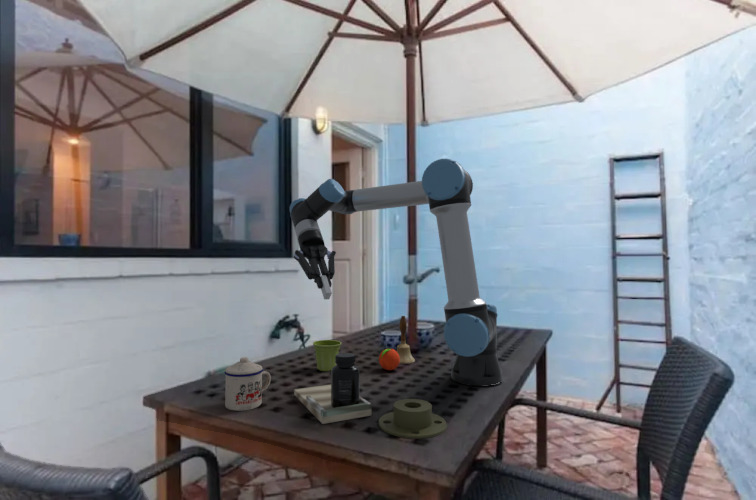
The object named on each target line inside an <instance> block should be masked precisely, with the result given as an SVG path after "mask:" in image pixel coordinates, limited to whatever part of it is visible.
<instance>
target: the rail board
mask: <svg viewBox="0 0 756 500" xmlns="http://www.w3.org/2000/svg"><path fill="white" fill-rule="evenodd" d="M293 394H294V396H295V397H296V398H297V400H298V401H300V403H302V404H303V406H304V407H306V409H307V410H309V412H310V413H311V414H312V415H313V416H314V417H315V418H316V419H317V420H318V421H319V422H320V423H321V424H323V425H324V424H330V423H335V422H341V421H347V420H355V419H359V418H364V417H369V416H370V417H371V416H372V403H371V402H369V401H368V400H367V399H365V398H363V397H362V396H360V399H359V404H355V405H349V406H343V407H336V408H333V407H332V405H331V384H324V385H317V386H316V385H315V386H309V387H303V388H302V387H301V388H296V389H295V388H294V393H293Z"/></svg>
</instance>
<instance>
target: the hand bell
mask: <svg viewBox="0 0 756 500" xmlns="http://www.w3.org/2000/svg"><path fill="white" fill-rule="evenodd" d="M407 329H408V323H407V318H406V316H405V315H400V321H399V331H400V344H398V345H397V346H396V351H397V353H398V354H399V356H400V363H399V365H400V364H401V365H402V364H406V365H407V364H413V363H415V362H416V360H415V358H414V357H413V356H412V353H411V347H410V345H409V344H407V343H406V341H407V339H406V334H407V333H406V332H407Z"/></svg>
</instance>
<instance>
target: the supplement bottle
mask: <svg viewBox="0 0 756 500" xmlns="http://www.w3.org/2000/svg"><path fill="white" fill-rule="evenodd" d="M335 363H336V366H334V367H333V368H332V370H330V385H331V405H332V407H333V408H336V407H343V406H349V405H355V404H359V399H360V393H361V392H360V388H361V387H360V384H361V383H360V382H361V381H360V377H361V375H360V373H361V372H360V368H359V366H357V365H356V363H357V361H356V354H354V353H349V352H345V353H338V354H337V355H336V356H335Z"/></svg>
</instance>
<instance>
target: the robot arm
mask: <svg viewBox="0 0 756 500" xmlns="http://www.w3.org/2000/svg"><path fill="white" fill-rule="evenodd" d="M473 188H474V183H473V179H472V176H471V174H469V173H468V171H467V170H465V169H464V167H463V166H462V164H461V163H459V162H458V161H456V160H453V159H450V158H439V159H436V160H434V161H432V162H431V163H430V164H429V165H428V166H427V167H426V168H425V170H424V172H423V174H422V177H421V180H419V181H418V180H417V181H410V182H409V181H408V182H402V183H395V184H387V185H380V186H379V185H378V186H373V187H366V188H357V189H351V190H344V188H343V187H342V185H341V184H340V183H339V182H338V181H336V180H335V179H334V178H328V179H327V180H326V181H324V182H322V184H320V185H319V186H318V187H317V188H316V189H315V190H314V191H312V193H310V195H309V196H308V197H306V198H302V197H300V198H297V199H295V200H293V201H291V203H290V205H289V213H290V215H289V216H290V220H291V221H292V224H293V227H294V231H295V235H296V240H297V242H298V246H299V249H300V250H298V249H296V250H295V251H294V254H293V259H294V260H296V261H297V262H298V264H299V265H300V267H301V269H302V270H303V272H304V274H305V275H306V277H307V279H308V280H310V281H311V280H314V281H313V282H314V283H315V284H316V287H317V289H320V291H321V294H322V297H323V299H324V300H330V298H331V296H332V294H333V293H332V292H333V291H332V289H331V288H332V281H331V280H333V278H334V276H335V256H336V254H337V252H336V250H332V251H330V250H329V249H328V247H326V245H325V241H324V238H323V234H322V232H321V230H320V226H319V224H318V223H319V222H318V220H319V219H321V218H322V217H323V216H324V215H325V214H326V213H327V212H335V213H338V214H342V215H352V214H354V213H357V212H365V211H367V212H368V211H374V210H375V211H376V210H385V209H394V208H405V207H411V206H423V205H428V206H429V212H430V213H431V214H432V215H434V216H435V217H436V226H437V231H438V239H439V245H440V252H441V259H442V265H443V271H444V279H445V285H446V287H445V288H446V292H447V299H448V301H447V302H446V304H444V307H443V311H444V318H445V324H444V328H443V339H444V342H445V344H446V346H447V347H448V349H450V351H451V352H453V353H455V354H456V355H455V360H454V362H453V365H452V368H451V370H450V371H451V375H450V377H451V380H452V381H454V382H456V383H459V384H462V383H463V384H462V385H466V384H469V385H468V386H472V385H491V384H496V383H498V382H501V381H502V382H503V372H502V368H501V364H500V363H499V362H500V361H499V360H498V356H497V348H498V347H497V343H498V341H497V335H498V334H497V332H498V331H497V322H498V321H497V319H498V313H497V307H496V306H495V305H494V304H488V303H487V302H486V301H485V300H484V299H482V298H481V296H480V291H479V283H478V278H477V272H476V271H477V270H476V264H475V263H476V262H475V258H474V252H473V244H472V237H471V230H470V224H469V218H468V217H469V216H468V210H469V209H470V208H471V207H472V201H471V194H472V192H473ZM325 256H326V257H327V261H328V262H327V263H326V260H325Z"/></svg>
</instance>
